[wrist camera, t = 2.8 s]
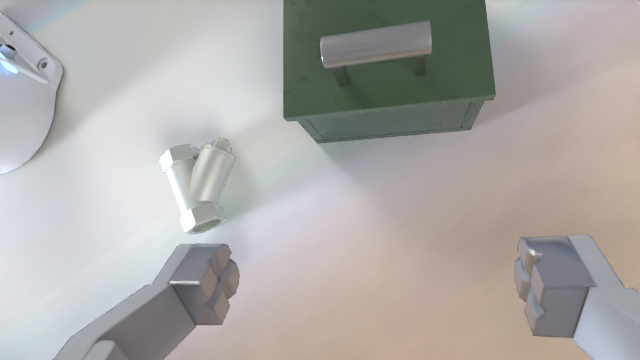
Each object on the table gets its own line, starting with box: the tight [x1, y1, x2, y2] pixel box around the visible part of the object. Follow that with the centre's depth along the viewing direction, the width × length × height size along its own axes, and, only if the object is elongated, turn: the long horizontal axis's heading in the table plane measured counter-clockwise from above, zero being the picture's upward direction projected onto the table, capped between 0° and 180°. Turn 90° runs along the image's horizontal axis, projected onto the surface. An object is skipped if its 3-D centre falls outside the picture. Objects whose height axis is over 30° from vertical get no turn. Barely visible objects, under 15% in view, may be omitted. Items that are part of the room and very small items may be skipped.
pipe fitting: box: [159, 137, 235, 234], centre depth 35 cm, size 8×4×7 cm
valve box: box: [297, 101, 484, 143], centre depth 31 cm, size 14×14×9 cm
